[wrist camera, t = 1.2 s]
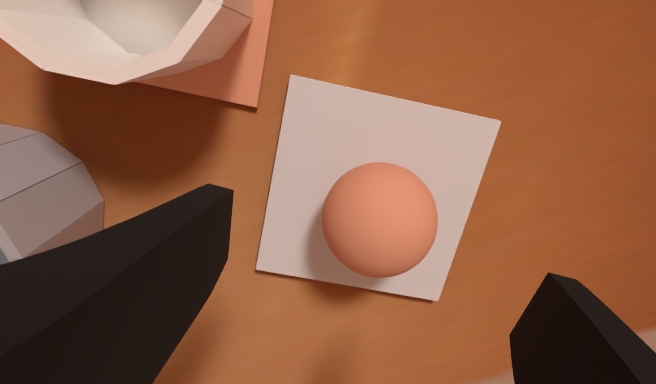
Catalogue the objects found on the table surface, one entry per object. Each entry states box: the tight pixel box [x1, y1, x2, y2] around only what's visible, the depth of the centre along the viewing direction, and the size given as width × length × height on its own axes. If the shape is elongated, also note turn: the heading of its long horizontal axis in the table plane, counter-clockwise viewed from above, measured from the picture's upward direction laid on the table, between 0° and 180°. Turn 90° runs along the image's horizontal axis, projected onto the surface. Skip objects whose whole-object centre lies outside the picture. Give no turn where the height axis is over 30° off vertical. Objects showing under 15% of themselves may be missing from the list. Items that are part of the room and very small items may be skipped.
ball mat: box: [256, 75, 501, 301], centre depth 21 cm, size 10×10×1 cm
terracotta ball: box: [322, 162, 438, 278], centre depth 18 cm, size 5×5×5 cm
